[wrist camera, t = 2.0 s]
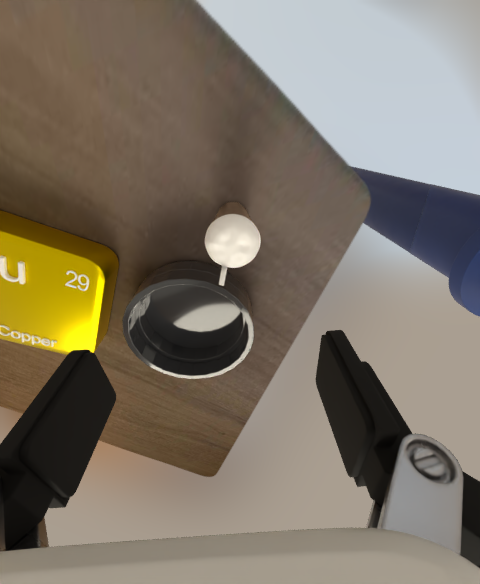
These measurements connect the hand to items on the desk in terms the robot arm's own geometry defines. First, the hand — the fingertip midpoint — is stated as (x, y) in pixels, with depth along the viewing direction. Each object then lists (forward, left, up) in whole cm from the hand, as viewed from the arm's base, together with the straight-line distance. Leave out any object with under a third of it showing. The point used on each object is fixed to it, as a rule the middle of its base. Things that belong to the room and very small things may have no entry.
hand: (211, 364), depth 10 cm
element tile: (+22, +6, -20) cm, 31 cm away
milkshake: (-1, 0, -21) cm, 20 cm away
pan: (+5, +12, -20) cm, 24 cm away
